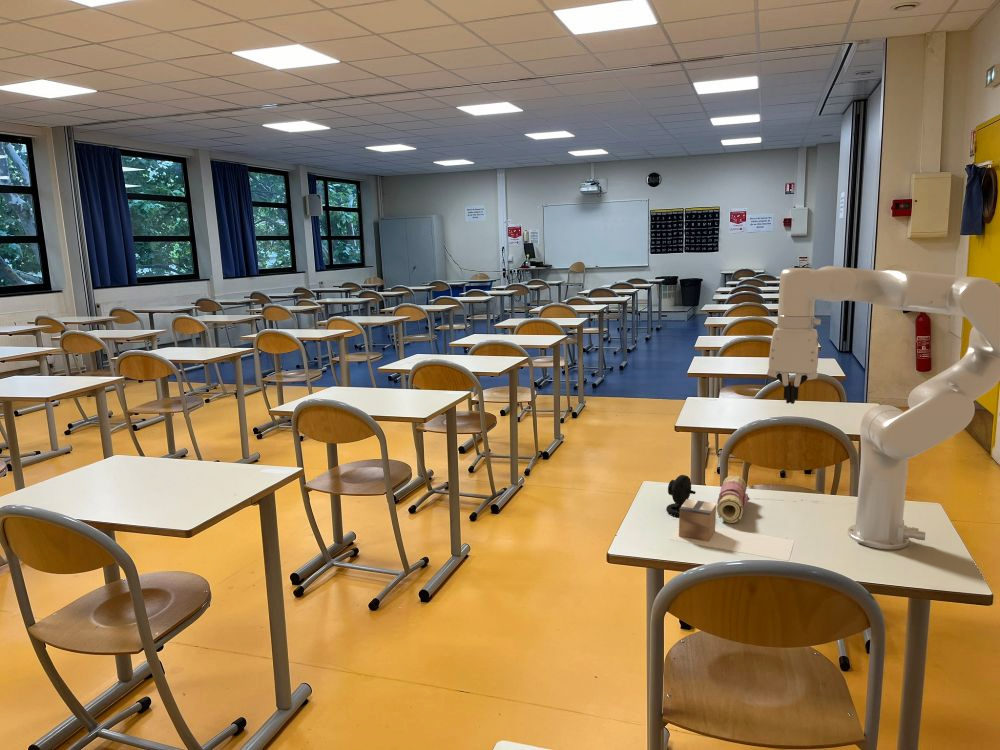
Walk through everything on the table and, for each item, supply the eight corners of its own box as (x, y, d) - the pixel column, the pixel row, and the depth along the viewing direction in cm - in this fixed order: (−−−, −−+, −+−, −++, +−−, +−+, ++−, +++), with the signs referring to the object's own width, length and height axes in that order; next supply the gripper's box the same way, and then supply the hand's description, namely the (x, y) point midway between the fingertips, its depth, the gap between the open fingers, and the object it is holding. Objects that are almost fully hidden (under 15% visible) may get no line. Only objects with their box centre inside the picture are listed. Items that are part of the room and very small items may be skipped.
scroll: (751, 523, 171) (757, 496, 189) (739, 494, 171) (745, 470, 189) (721, 531, 175) (729, 504, 193) (709, 503, 175) (718, 479, 193)
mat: (794, 541, 164) (794, 540, 164) (788, 562, 153) (788, 560, 153) (682, 522, 176) (682, 521, 176) (669, 540, 165) (669, 539, 165)
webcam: (674, 504, 188) (675, 468, 186) (701, 511, 183) (702, 474, 181) (660, 513, 182) (661, 476, 180) (687, 520, 177) (688, 482, 176)
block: (686, 498, 172) (685, 526, 173) (679, 508, 165) (678, 536, 167) (716, 503, 168) (715, 530, 170) (710, 513, 162) (708, 541, 163)
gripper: (832, 322, 159) (827, 402, 162) (762, 320, 166) (758, 396, 169) (830, 326, 153) (824, 408, 156) (758, 323, 160) (754, 402, 163)
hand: (790, 402), depth 163 cm, fingers closed
